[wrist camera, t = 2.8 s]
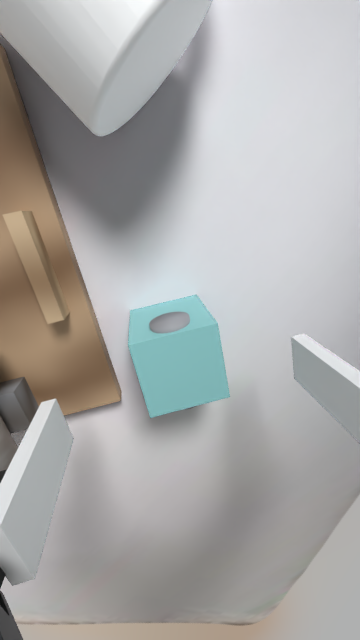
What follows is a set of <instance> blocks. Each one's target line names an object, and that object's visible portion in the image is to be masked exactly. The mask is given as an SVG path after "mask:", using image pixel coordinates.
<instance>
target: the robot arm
mask: <svg viewBox="0 0 360 640" xmlns="http://www.w3.org/2000/svg"><path fill="white" fill-rule="evenodd" d="M291 341H292V356H293V370H294V379H295V380H296V381H297V382H298V383H299V384H300V385H301V386H302V387H303V388H304V389H305V390H306V391H307V392H308V393H309V394H310V395H311V396H312V397H313V398H314V399H315V400H316V401H317V402H318V403H319V404H320V405H321V406H322V407H323V408H324V409H325V410H326V411H327V412H328V413H329V414H330V415H331V416H332V417H333V418H334V419H335V420H336V421H337V422H338V423H339V424H340V425H341V426H342V427H343V428H344V429H345V430H346V431H347V432H348V433H349V434H350V435H351V436H352V437H353V438H354V439H355V440H356V441H357V442H359V443H360V371H359V370H358V369H356V368H355V367H353V366H352V365H350V364H349V363H347V362H346V361H344V360H343V359H341V358H340V357H338V356H337V355H335V354H334V353H332V352H331V351H329V350H328V349H326V348H325V347H324V346H322V345H321V344H319V343H318V342H316V341H315V340H313V339H312V338H310V337H309V336H307V335H306V334H300V335H296V336H292V337H291ZM73 439H74V438H73V436H72V433H71V431H70V429H69V427H68V424H67V422H66V420H65V418H64V415H63V413H62V411H61V409H60V406H59V404H58V402H57V400H56V399H52V400H48V401H44V402H41V404H40V406H39V408H38V410H37V412H36V414H35V416H34V418H33V420H32V422H31V424H30V426H29V428H28V430H27V432H26V434H25V436H24V437H23V439H22V441H21V443H20V445H19V447H18V449H17V451H16V453H15V455H14V457H13V459H12V461H11V463H10V465H9V467H8V469H7V470H3V471H0V588H1V585H2V583H3V580H4V577H5V576H6V578H7V579H8V581H9V582H10V583H11V585H12V586H13V585H16V584H20V583H23V582H26V581H29V580H33V579H35V577H36V573H37V569H38V566H39V562H40V559H41V555H42V551H43V548H44V544H45V540H46V537H47V533H48V530H49V526H50V522H51V519H52V515H53V512H54V508H55V504H56V501H57V497H58V493H59V490H60V486H61V483H62V479H63V475H64V472H65V468H66V465H67V461H68V457H69V454H70V450H71V446H72V443H73ZM0 640H23V638H22V636H21V634H20V631H19V629H18V626H17V624H16V622H15V620H14V617H13V615H12V613H11V610H10V608H9V606H8V604H7V601H6V599H5V597H4V595H3V593H2V592H1V591H0Z"/></svg>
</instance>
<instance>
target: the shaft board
mask: <svg viewBox="0 0 360 640" xmlns="http://www.w3.org/2000/svg"><path fill="white" fill-rule="evenodd" d="M52 399H56V400H57V402H58V404H59V406H60V409H61V411H62V413H63V415H68V414H72V413H76V412H80V411H83V410H87V409H91V408H95V407H99V406H103V405H107V404H110V403H114V402H118V401H121V389H120V386H119V383H118V380H117V377H116V374H115V371H114V368H113V365H112V363H111V360H110V357H109V354H108V351H107V348H106V345H105V342H104V339H103V336H102V333H101V330H100V327H99V324H98V321H97V319H96V316H95V313H94V310H93V307H92V304H91V301H90V298H89V295H88V292H87V289H86V286H85V283H84V280H83V278H82V275H81V272H80V269H79V266H78V263H77V260H76V257H75V254H74V251H73V248H72V245H71V242H70V239H69V236H68V234H67V231H66V228H65V225H64V222H63V219H62V216H61V213H60V210H59V207H58V204H57V201H56V198H55V195H54V193H53V190H52V187H51V184H50V181H49V178H48V175H47V172H46V169H45V166H44V163H43V160H42V157H41V154H40V152H39V149H38V146H37V143H36V140H35V137H34V134H33V131H32V128H31V125H30V122H29V119H28V116H27V113H26V110H25V108H24V105H23V102H22V99H21V96H20V93H19V90H18V87H17V84H16V81H15V78H14V75H13V72H12V69H11V67H10V64H9V61H8V58H7V55H6V52H5V49H4V48H3V47H2V45H1V44H0V471H3V470H7V469H8V467H9V465H10V463H11V461H12V459H13V457H14V455H15V453H16V451H17V449H18V447H17V445H16V443H15V441H14V440H13V438H12V436H11V434H10V433H14V432H18V431H22V430H25V429H28V428H29V426H30V424H31V422H32V420H33V418H34V416H35V414H36V412H37V410H38V408H39V406H40V404H41V402H44V401H48V400H52Z"/></svg>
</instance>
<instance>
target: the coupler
mask: <svg viewBox="0 0 360 640" xmlns="http://www.w3.org/2000/svg"><path fill="white" fill-rule="evenodd" d="M128 347H129V350H130V353H131V357H132V360H133V363H134V366H135V370H136V373H137V376H138V379H139V383H140V386H141V389H142V392H143V396H144V399H145V402H146V406H147V409H148V412H149V415H150V418H152V417H156V416H160V415H164V414H167V413H171V412H175V411H179V410H182V409H189V408H193V407H195V406H198V405H201V404H205V403H209V402H213V401H216V400H220V399H224V398H228V397H230V394H229V388H228V382H227V376H226V370H225V364H224V358H223V352H222V346H221V340H220V334H219V328H218V323H217V322H216V320H215V319H214V318H213V316H212V315H211V314H210V312H209V311H208V309H207V308H206V307H205V305H204V304H203V303H202V301H201V300H200V299H199V297H198V296H197V295H192V296H188V297H184V298H180V299H176V300H172V301H167V302H163V303H159V304H155V305H151V306H147V307H143V308H138V309H134V310H130V324H129V339H128Z"/></svg>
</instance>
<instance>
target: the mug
mask: <svg viewBox="0 0 360 640" xmlns="http://www.w3.org/2000/svg"><path fill="white" fill-rule="evenodd" d="M211 2H212V0H0V33H1V34H2V35H3V37H4V38H5V39H6V40H7V41H8V42H9V43H10V44H11V45H12V46H13V47H14V48H15V50H16V51H17V52H18V53H19V54H20V55H21V56H22V57H23V58H24V59H25V60H26V62H27V63H28V64H29V65H30V66H31V67H32V68H33V69H34V70H35V71H36V72H37V73H38V75H39V76H40V77H41V78H42V79H43V80H44V81H45V82H46V83H47V84H48V85H49V87H50V88H51V89H52V90H53V91H54V92H55V93H56V94H57V95H58V96H59V97H60V98H61V100H62V101H63V102H64V103H65V104H66V105H67V106H68V107H69V108H70V109H71V110H72V112H73V113H74V114H75V115H76V116H77V117H78V118H79V119H80V120H81V121H82V122H83V123H84V125H85V126H86V127H87V128H88V129H89V130H90V131H91V132H92V133H93V134H95V135H97V136H105V135H108V134H110V133H112V132H114V131H116V130H117V129H119V128H120V127H121V126H123V125H124V124H125V123H126V122H127V121H128V120H130V119H131V118H132V117H133V116H134V115H135V114H136V113H137V112H138V111H139V110H140V109H141V108H142V107H143V106H144V104H145V103H146V102H147V101H148V100H149V99H150V98H151V96H152V95H153V94H154V93H155V92H156V91H157V89H158V88H159V87H160V86H161V84H162V83H163V82H164V80H165V79H166V78H167V76H168V75H169V74H170V72H171V71H172V70H173V68H174V67H175V65H176V64H177V63H178V61H179V60H180V58H181V57H182V55H183V54H184V52H185V51H186V49H187V47H188V46H189V44H190V43H191V41H192V39H193V38H194V36H195V34H196V32H197V31H198V29H199V27H200V25H201V23H202V21H203V19H204V18H205V15H206V13H207V11H208V9H209V7H210V5H211Z"/></svg>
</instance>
